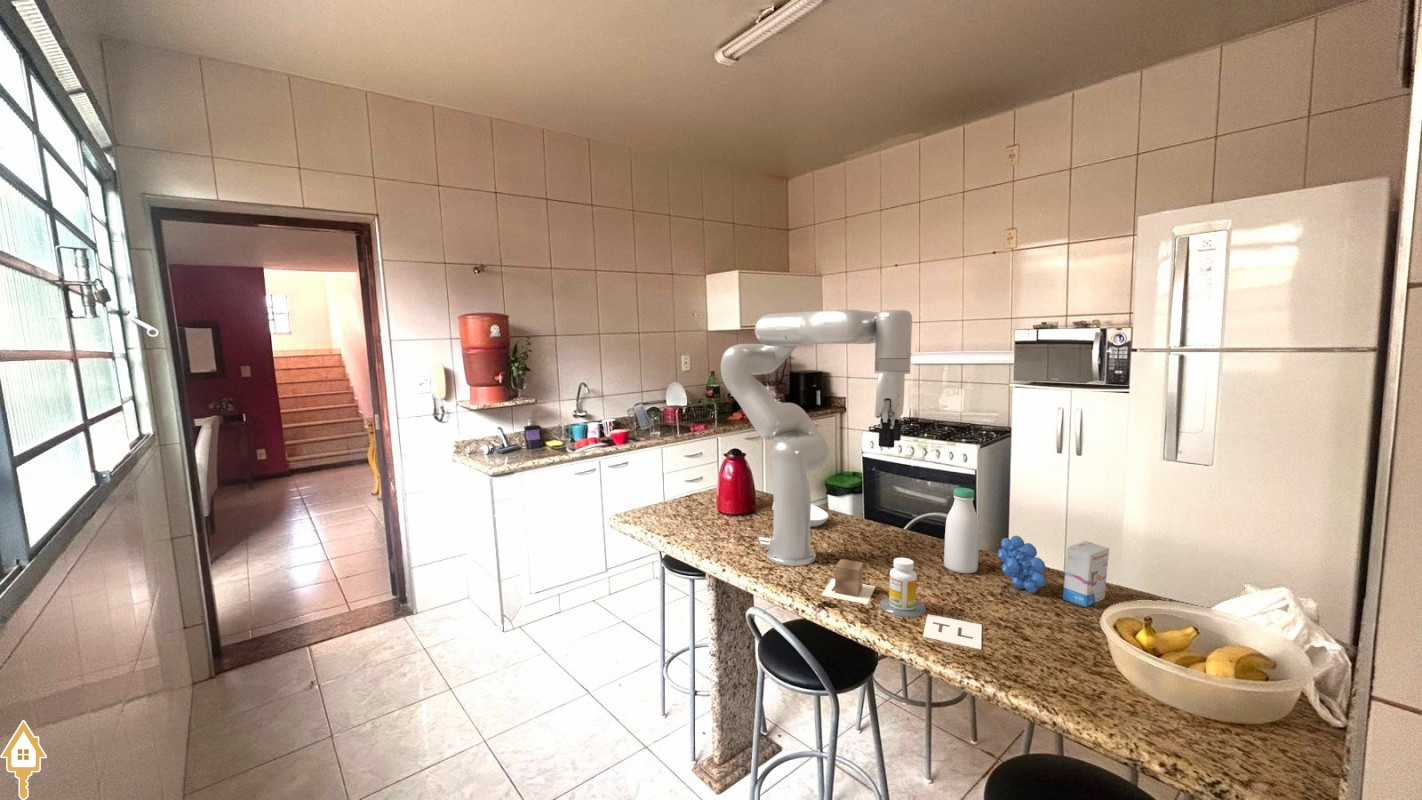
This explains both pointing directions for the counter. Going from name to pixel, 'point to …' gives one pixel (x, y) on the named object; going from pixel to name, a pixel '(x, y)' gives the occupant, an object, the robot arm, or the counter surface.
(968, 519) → the milk bottle
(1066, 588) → the ink box
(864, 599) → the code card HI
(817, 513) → the spoon rest
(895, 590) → the supplement bottle
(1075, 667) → the counter surface
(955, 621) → the card
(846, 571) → the walnut block
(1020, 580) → the grapes
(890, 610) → the gray round coaster
